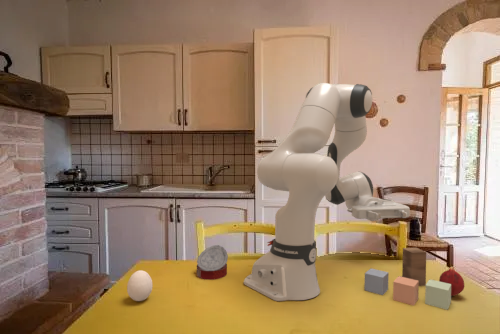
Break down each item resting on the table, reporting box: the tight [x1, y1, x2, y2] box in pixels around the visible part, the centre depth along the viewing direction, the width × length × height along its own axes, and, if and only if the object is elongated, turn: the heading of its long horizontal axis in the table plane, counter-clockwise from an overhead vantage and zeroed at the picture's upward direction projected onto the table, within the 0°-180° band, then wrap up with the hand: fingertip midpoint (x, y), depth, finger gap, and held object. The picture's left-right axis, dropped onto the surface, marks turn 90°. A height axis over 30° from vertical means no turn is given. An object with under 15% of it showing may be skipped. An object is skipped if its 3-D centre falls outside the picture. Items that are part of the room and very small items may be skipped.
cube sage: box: [424, 278, 452, 311], centre depth 81 cm, size 5×5×5 cm
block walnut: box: [401, 247, 427, 287], centre depth 94 cm, size 4×4×10 cm
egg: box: [126, 269, 153, 302], centre depth 83 cm, size 6×6×8 cm
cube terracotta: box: [392, 275, 420, 306], centre depth 84 cm, size 5×5×5 cm
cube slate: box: [364, 267, 389, 296], centre depth 89 cm, size 5×5×5 cm
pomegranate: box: [438, 266, 465, 297], centre depth 85 cm, size 6×6×8 cm
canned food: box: [196, 244, 229, 281], centre depth 102 cm, size 11×10×10 cm
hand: (392, 215), depth 106 cm, fingers open, 8 cm apart
